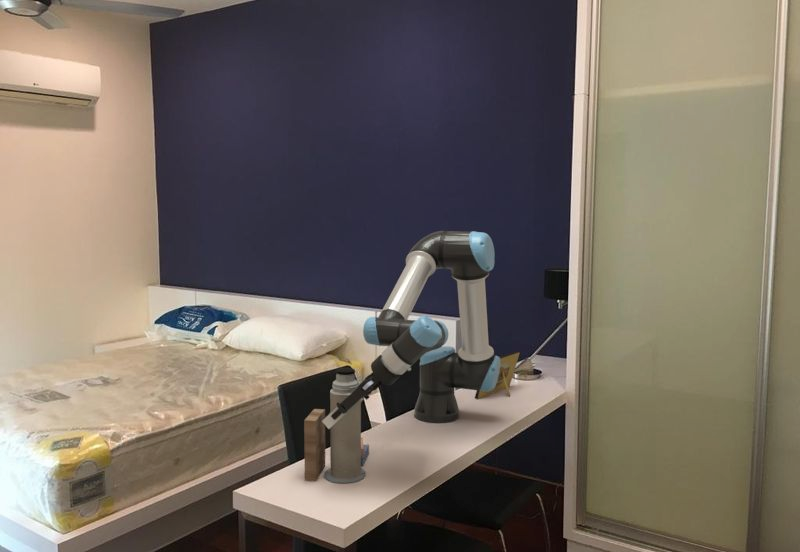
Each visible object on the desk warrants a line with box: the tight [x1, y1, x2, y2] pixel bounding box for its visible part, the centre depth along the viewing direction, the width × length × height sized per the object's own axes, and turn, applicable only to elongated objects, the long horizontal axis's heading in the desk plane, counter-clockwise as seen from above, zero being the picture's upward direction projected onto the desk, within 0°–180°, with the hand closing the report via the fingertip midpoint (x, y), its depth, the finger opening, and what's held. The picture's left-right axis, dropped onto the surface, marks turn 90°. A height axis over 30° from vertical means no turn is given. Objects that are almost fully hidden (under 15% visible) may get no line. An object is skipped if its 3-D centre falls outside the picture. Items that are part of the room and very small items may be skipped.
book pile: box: [361, 437, 370, 466], centre depth 192 cm, size 10×8×5 cm
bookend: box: [303, 408, 326, 482], centre depth 181 cm, size 10×3×16 cm, turn 172°
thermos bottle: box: [329, 367, 362, 479], centre depth 180 cm, size 8×8×28 cm
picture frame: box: [474, 350, 521, 400], centre depth 257 cm, size 23×9×15 cm, turn 141°
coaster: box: [323, 467, 367, 485], centre depth 181 cm, size 11×11×1 cm
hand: (335, 417), depth 180 cm, fingers open, 12 cm apart
